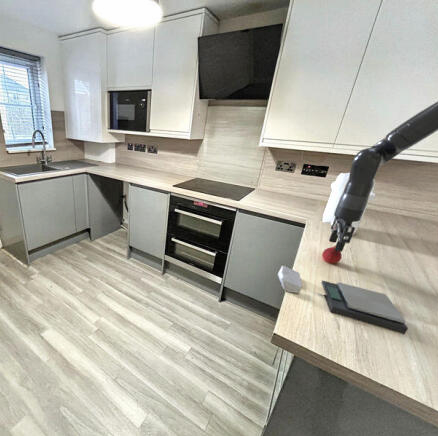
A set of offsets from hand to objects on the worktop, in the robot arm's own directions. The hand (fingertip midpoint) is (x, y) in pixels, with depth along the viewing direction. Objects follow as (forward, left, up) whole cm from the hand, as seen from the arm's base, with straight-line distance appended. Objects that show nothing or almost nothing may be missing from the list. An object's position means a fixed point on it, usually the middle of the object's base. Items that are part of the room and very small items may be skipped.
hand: (334, 246), depth 90 cm
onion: (0, 0, -8) cm, 8 cm away
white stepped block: (-15, -51, -8) cm, 54 cm away
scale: (-2, +26, -8) cm, 27 cm away
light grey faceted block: (+16, +24, -8) cm, 30 cm away
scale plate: (-4, +26, -6) cm, 27 cm away
